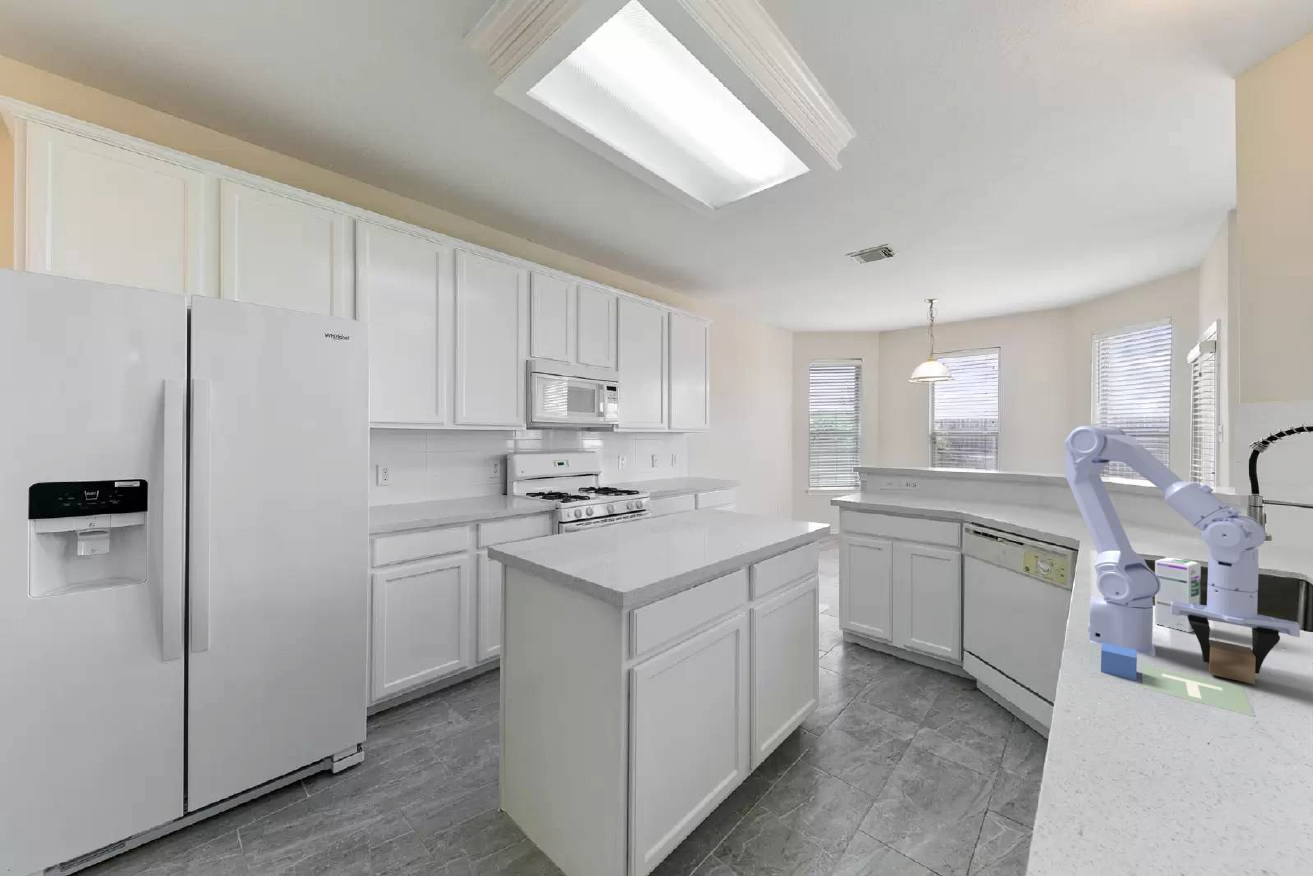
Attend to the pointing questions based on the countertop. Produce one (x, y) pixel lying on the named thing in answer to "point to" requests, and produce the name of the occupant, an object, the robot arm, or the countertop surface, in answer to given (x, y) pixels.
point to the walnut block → (1231, 661)
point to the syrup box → (1176, 590)
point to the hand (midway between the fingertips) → (1229, 665)
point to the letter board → (1196, 689)
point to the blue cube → (1119, 661)
